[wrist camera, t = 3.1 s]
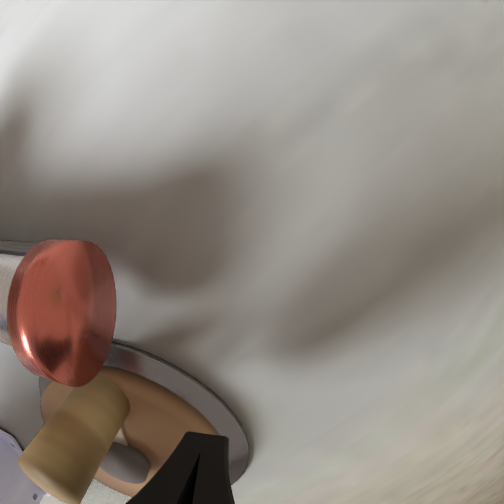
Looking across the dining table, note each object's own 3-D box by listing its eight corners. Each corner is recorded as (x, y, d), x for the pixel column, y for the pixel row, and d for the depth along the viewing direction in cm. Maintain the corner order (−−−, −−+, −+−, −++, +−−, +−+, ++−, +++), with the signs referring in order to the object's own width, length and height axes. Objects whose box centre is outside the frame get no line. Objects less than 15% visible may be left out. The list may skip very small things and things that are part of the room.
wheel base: (245, 503, 14) (245, 507, 14) (76, 464, 15) (75, 467, 15) (255, 360, 11) (254, 364, 11) (18, 319, 12) (14, 322, 12)
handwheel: (228, 501, 14) (215, 584, 8) (81, 465, 14) (45, 529, 8) (227, 377, 11) (196, 517, 5) (28, 337, 12) (-52, 406, 6)
